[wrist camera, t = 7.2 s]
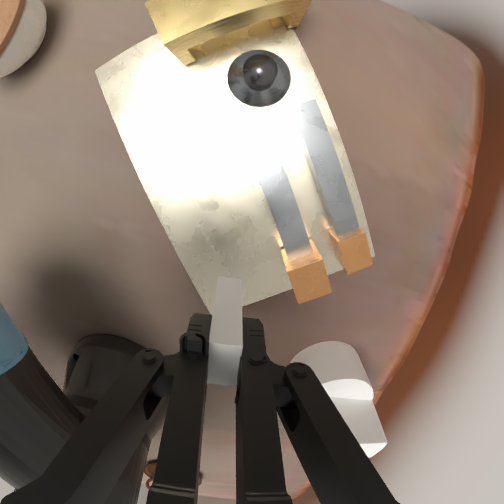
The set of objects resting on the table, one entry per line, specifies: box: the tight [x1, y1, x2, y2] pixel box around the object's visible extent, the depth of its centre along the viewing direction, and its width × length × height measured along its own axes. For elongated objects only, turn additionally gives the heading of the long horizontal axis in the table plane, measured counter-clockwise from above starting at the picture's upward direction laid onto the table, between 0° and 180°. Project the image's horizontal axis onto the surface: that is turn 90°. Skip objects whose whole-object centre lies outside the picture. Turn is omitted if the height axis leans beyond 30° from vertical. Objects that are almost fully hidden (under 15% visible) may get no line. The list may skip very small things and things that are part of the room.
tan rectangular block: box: [145, 0, 311, 66], centre depth 15 cm, size 4×10×6 cm, turn 112°
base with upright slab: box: [289, 341, 387, 457], centre depth 27 cm, size 9×9×12 cm
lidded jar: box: [0, 0, 47, 78], centre depth 12 cm, size 11×11×9 cm
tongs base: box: [95, 16, 375, 315], centre depth 21 cm, size 26×17×4 cm, turn 22°
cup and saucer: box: [144, 463, 202, 489], centre depth 42 cm, size 12×12×6 cm
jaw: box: [237, 115, 332, 304], centre depth 22 cm, size 14×3×4 cm, turn 21°
